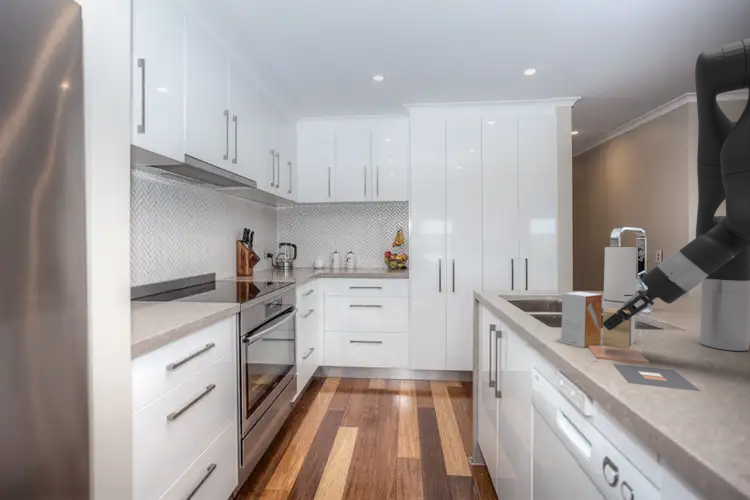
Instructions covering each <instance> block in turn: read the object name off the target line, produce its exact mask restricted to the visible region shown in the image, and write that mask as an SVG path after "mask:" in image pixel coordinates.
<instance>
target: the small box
mask: <svg viewBox="0 0 750 500" xmlns="http://www.w3.org/2000/svg"><path fill="white" fill-rule="evenodd" d="M561 295H562V297H561V298H562V299H561V302H562V303H561V333H560V335H561V336H560V338H561V339H560V342H561V343H562V344H566V345H570V346H573V347H579V348H588V345H591V346H598V345H601V342H602V341H601V340H602V339H601V335H602V334H601V333H602V311H603V309H602V307H603V305H602V303H603V294H601V293H593V292H587V291H572V292H565V293H562V294H561Z"/></svg>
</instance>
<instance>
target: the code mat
mask: <svg viewBox="0 0 750 500" xmlns="http://www.w3.org/2000/svg"><path fill="white" fill-rule="evenodd" d="M612 365H613V366H614V368H615V369H616V370H617V371H618V372H619V374H620V375H621V376H622V377H623V378H624V379H625V381H626V382H627V383H628V384H632V385H643V386H644V385H645V386H652V387H659V388H669V389H677V390H678V389H679V390H680V389H681V390H686V391H687V390H689V391H696V392H701V389H699V388H698V387H696V386H695V385H694V384H692V383H691V382H690V381H689V380H688V379H687V378H685V377H684V376H682V375H681V374H680V373H679V372H678V371H676V370H674V369H668V368H659V367H658V368H657V367H647V366H638V365H637V366H636V365H629V364H628V365H627V364H617V363H612Z"/></svg>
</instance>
